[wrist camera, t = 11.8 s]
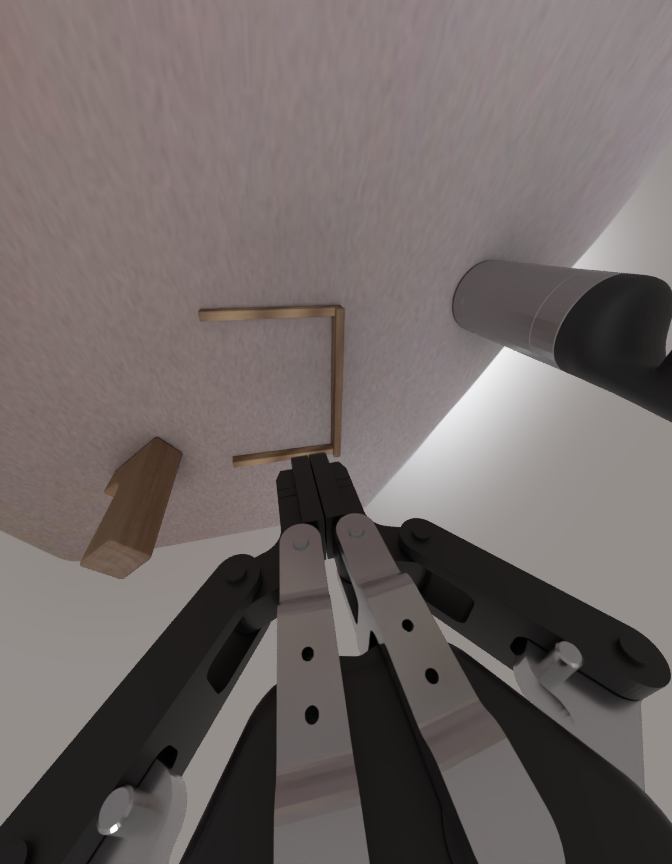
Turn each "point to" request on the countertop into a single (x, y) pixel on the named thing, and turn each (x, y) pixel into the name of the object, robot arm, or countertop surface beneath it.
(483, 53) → the countertop surface
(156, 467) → the wooden block
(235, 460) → the frame
